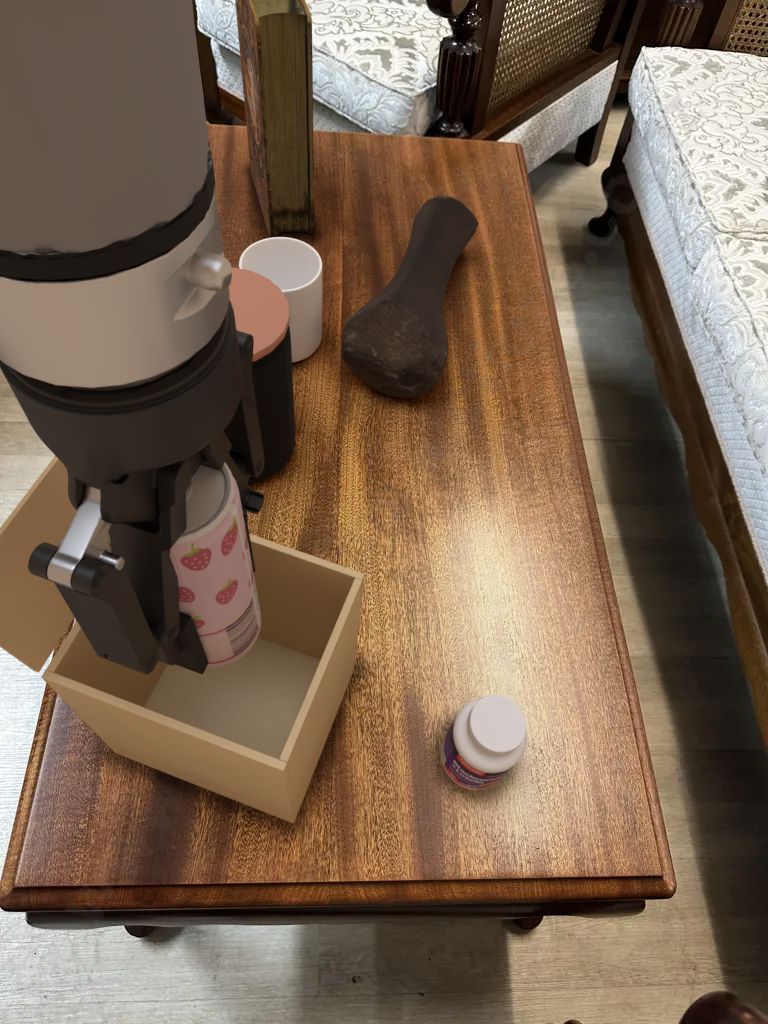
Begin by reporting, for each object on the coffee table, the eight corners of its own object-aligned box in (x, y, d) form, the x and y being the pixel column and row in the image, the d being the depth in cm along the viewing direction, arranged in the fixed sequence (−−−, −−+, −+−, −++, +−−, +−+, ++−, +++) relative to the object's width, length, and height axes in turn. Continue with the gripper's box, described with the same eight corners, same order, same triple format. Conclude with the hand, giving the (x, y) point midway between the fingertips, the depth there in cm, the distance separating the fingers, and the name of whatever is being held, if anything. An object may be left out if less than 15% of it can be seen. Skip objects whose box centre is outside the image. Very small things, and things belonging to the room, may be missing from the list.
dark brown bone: (399, 425, 78) (448, 284, 95) (460, 369, 70) (501, 228, 88) (316, 366, 75) (383, 232, 92) (370, 301, 67) (432, 169, 84)
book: (248, 165, 97) (228, -56, 76) (288, 161, 98) (279, -58, 77) (271, 243, 89) (255, 19, 68) (314, 238, 90) (312, 16, 69)
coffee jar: (218, 395, 76) (192, 252, 60) (312, 426, 74) (310, 287, 59) (168, 471, 70) (126, 335, 55) (269, 506, 69) (255, 377, 54)
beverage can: (171, 584, 45) (113, 436, 32) (263, 582, 46) (241, 436, 33) (161, 671, 42) (93, 546, 29) (260, 668, 43) (234, 544, 30)
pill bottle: (437, 786, 56) (457, 756, 48) (442, 718, 59) (461, 679, 51) (505, 796, 56) (537, 767, 48) (507, 727, 59) (537, 689, 51)
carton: (114, 752, 56) (40, 677, 41) (193, 609, 63) (153, 499, 48) (293, 823, 54) (283, 771, 39) (354, 668, 61) (365, 573, 46)
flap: (39, 672, 40) (34, 671, 41) (153, 495, 47) (148, 494, 47) (-54, 606, 35) (-60, 605, 35) (90, 415, 42) (85, 415, 42)
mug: (209, 361, 78) (194, 286, 69) (219, 308, 82) (207, 231, 74) (320, 368, 79) (319, 294, 70) (324, 315, 83) (324, 239, 74)
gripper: (51, 600, 18) (193, 792, 37) (331, 183, 27) (327, 509, 47) (-210, 503, 18) (64, 740, 38) (152, 132, 28) (221, 473, 48)
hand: (209, 612), depth 42 cm, fingers closed on beverage can, 6 cm apart
